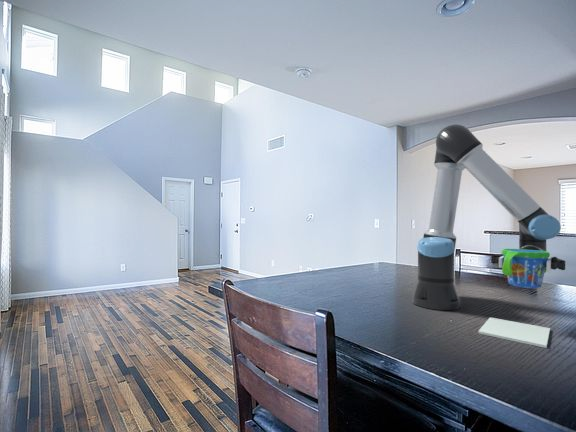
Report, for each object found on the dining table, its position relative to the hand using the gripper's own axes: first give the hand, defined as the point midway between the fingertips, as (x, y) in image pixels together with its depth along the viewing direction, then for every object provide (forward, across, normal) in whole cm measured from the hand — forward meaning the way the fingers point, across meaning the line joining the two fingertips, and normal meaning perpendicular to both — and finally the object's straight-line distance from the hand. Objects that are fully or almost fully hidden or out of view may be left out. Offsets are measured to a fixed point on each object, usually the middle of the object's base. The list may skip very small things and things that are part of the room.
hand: (523, 264), depth 86 cm
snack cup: (-4, 0, -7) cm, 8 cm away
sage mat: (+3, +2, -18) cm, 18 cm away
